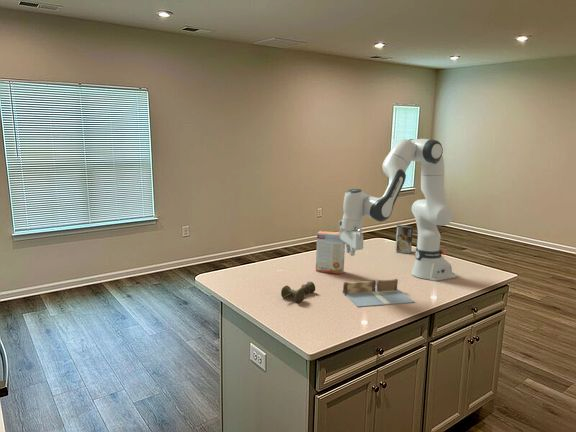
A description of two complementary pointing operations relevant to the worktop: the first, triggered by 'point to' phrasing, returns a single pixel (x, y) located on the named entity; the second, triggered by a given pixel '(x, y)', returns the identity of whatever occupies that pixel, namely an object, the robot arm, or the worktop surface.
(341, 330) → the worktop surface
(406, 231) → the coffee box
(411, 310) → the worktop surface
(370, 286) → the tan wooden bar
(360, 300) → the card
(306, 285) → the kendama
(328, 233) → the cracker box
